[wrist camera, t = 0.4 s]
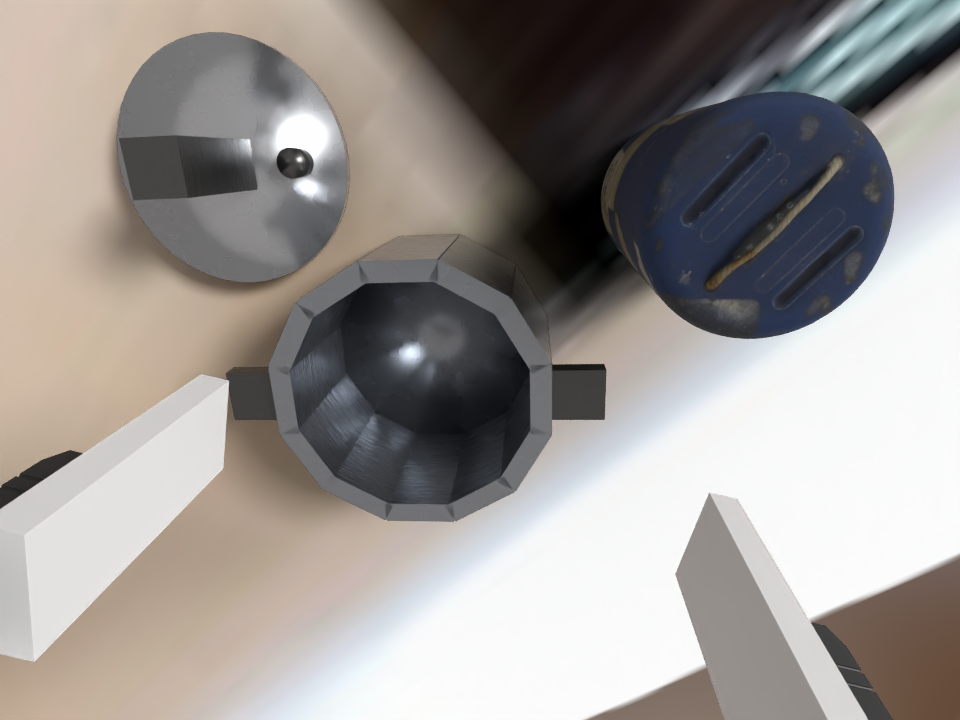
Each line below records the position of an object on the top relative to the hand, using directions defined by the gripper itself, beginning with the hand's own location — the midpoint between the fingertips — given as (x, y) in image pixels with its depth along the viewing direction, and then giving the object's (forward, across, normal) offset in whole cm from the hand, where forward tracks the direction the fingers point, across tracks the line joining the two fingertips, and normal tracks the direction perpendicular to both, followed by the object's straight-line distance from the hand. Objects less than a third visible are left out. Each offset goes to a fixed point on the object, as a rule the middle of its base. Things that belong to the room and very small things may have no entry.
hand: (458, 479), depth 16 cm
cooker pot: (+26, -4, -6) cm, 27 cm away
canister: (+26, +9, +8) cm, 29 cm away
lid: (+26, -18, +4) cm, 32 cm away
